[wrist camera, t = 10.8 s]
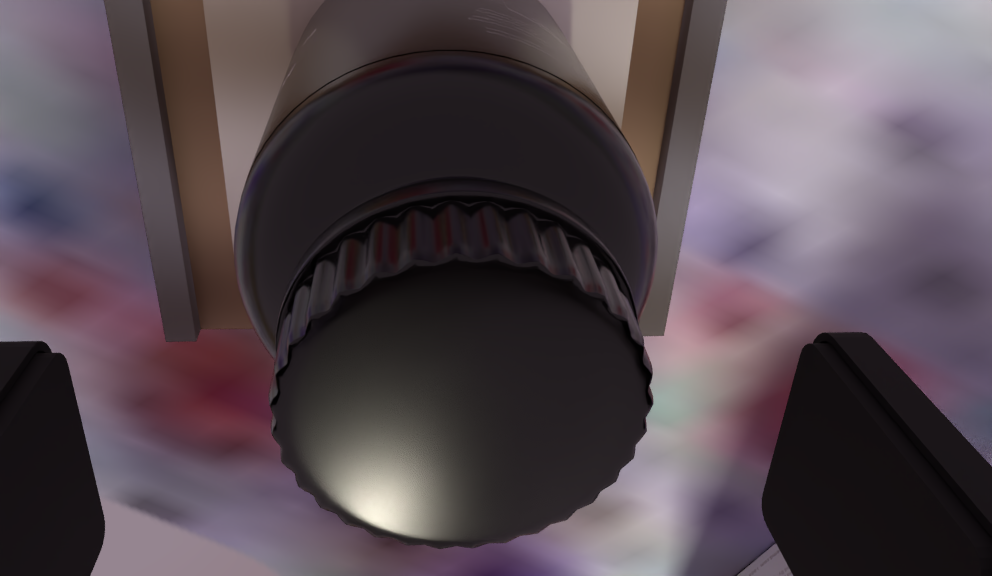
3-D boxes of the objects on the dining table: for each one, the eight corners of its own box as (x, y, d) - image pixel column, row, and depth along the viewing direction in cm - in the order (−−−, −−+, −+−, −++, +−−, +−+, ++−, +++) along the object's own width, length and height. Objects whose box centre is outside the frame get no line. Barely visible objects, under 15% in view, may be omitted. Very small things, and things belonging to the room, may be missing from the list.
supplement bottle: (235, 19, 19) (43, 296, 9) (515, -102, 18) (661, 44, 8) (367, 260, 22) (340, 656, 12) (605, 166, 22) (788, 505, 12)
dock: (634, 274, 27) (663, 335, 24) (193, 275, 26) (166, 341, 23) (713, -226, 20) (769, -228, 17) (111, -266, 19) (53, -277, 16)
